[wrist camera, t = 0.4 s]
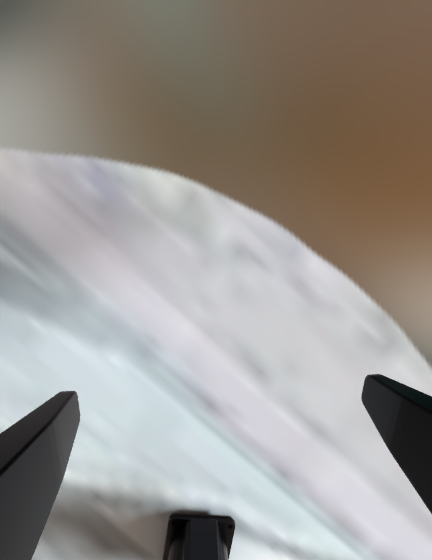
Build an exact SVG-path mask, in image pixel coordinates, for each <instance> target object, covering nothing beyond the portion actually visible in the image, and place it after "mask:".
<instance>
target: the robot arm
mask: <svg viewBox="0 0 432 560" xmlns="http://www.w3.org/2000/svg"><path fill="white" fill-rule="evenodd" d="M362 402H363V405H364V406H365V408H366V410H367V412H368V414H369V415H370V417H371V419H372V421H373V423H374V424H375V426H376V428H377V430H378V432H379V433H380V435H381V437H382V439H383V441H384V442H385V444H386V446H387V447H388V449H389V451H390V452H391V454H392V455H393V457H394V459H395V460H396V462H397V463H398V464H399V466H400V467H401V469H402V470H403V472H404V473H405V475H406V476H407V478H408V479H409V481H410V482H411V484H412V485H413V487H414V488H415V490H416V491H417V493H418V494H419V496H420V497H421V499H422V500H423V502H424V503H425V505H426V506H427V508H428V509H429V511H430V512H431V514H432V396H429V395H427V394H425V393H422V392H420V391H418V390H415V389H413V388H411V387H408V386H406V385H404V384H402V383H399V382H397V381H395V380H392V379H390V378H388V377H385V376H383V375H380V374H372V375H367V376H366V378H365V381H364V386H363V391H362ZM79 421H80V410H79V403H78V396H77V393H76V392H75V391H63V392H60V393H58V394H56V395H55V396H54V397H52V398H51V399H49V400H48V401H46V402H45V403H44V404H42V405H41V406H39V407H38V408H36V409H35V410H34V411H32V412H31V413H29V414H28V415H26V416H25V417H24V418H22V419H21V420H19V421H18V422H16V423H15V424H14V425H12V426H11V427H9V428H8V429H6V430H5V431H4V432H2V433H1V434H0V560H31V559H32V556H33V554H34V551H35V549H36V546H37V544H38V541H39V539H40V536H41V534H42V531H43V529H44V526H45V524H46V521H47V519H48V516H49V514H50V511H51V509H52V506H53V504H54V501H55V499H56V496H57V494H58V491H59V488H60V486H61V483H62V480H63V477H64V474H65V471H66V467H67V464H68V460H69V457H70V453H71V450H72V447H73V443H74V440H75V436H76V433H77V429H78V426H79ZM234 530H235V521H234V520H233V519H231V518H217V517H203V516H189V515H171V516H170V518H169V523H168V529H167V536H166V542H165V549H164V555H163V560H228V559H229V554H230V549H231V545H232V540H233V535H234Z"/></svg>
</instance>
